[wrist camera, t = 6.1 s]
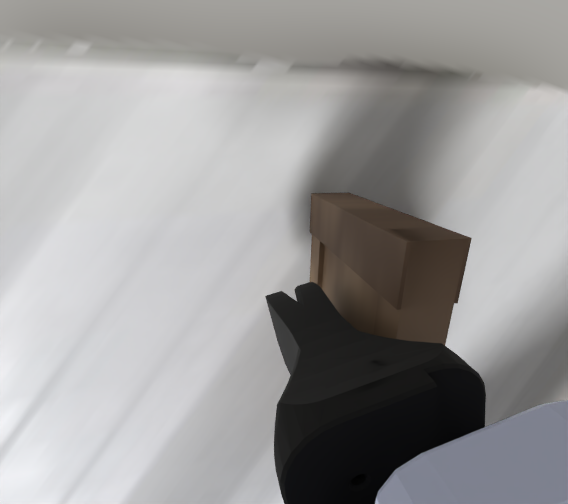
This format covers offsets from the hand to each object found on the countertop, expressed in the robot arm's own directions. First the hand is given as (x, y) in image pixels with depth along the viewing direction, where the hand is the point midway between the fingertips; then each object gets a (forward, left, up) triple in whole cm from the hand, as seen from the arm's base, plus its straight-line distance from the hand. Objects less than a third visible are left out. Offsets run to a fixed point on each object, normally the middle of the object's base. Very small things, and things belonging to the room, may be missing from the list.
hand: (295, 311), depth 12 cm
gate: (-3, +3, -2) cm, 4 cm away
